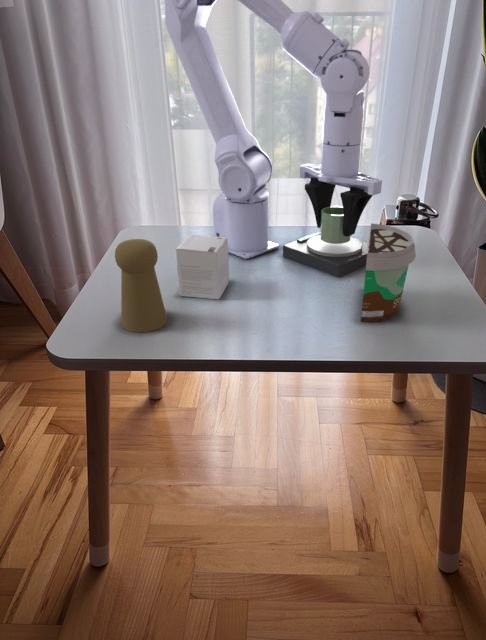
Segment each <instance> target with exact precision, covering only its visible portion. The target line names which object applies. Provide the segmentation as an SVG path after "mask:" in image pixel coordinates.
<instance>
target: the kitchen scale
mask: <svg viewBox="0 0 486 640" xmlns="http://www.w3.org/2000/svg"><path fill="white" fill-rule="evenodd" d="M368 249H369V242H367V241H364V240H361V239H358V238H356V237H354V236H351V239H350V241H349V242H347V243H342V244H331V243H327V242H324V241H322V240H321V239H320V231H319V232H314V233H311V234H308V235H306V236H301V237H299V238H296V240H294V241H291V242H288V243H286V244H283V245H282V257H283V258H286V259H288V260H291V261H294V262H296V263H300V264H302V265H304V266H307V267H310V268H313V269H315V270H318V271H320V272H323V273H326V274H327V275H331V276H333V277H337V278H341V277H343V276H346V275H348V274H350V273H352V272H354V271H356V270H358V269H361V268H363V267H366V262H367V253H368Z"/></svg>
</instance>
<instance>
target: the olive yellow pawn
mask: <svg viewBox="0 0 486 640" xmlns="http://www.w3.org/2000/svg"><path fill="white" fill-rule="evenodd" d="M158 258H159V257H158V250H157V247H156V245H155V244H154V243H153V242H152V241H150V240H148V239H143V238H131V239H127V240H123V241H122V242H120V243H119V244H117V246H116V248H115V250H114V260H115V263H116V265H117V267H118V268H119V269H120V270H121V277H120V279H121V286H120V287H121V288H120V291H121V292H120V293H121V294H120V295H121V296H120V298H121V300H120V301H121V302H120V305H121V307H120V308H121V310H120V314H121V315H120V319H121V320H120V321H121V322H120V324H121V327H122V328H123V329H124V330H126V331H128V332H132V333H149V332H153V331H157V330H159V329H161V328H163V327H164V326H165V325H167V322H168V317H167V312H166V309H165V305H164V300H163V296H162V292H161V288H160V284H159V280H158V276H157V272H156V268H155V266H156V265H157V263H158Z"/></svg>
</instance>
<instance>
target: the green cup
mask: <svg viewBox="0 0 486 640" xmlns="http://www.w3.org/2000/svg"><path fill="white" fill-rule="evenodd" d="M343 218H344V215H343V206H341V205H339V206H338V205H333V206H332V205H331V207H326V208H323V209H322V210H321V226H320V228H319V229H320V230H319V232H320V239H321V240H322V241H324V242H327V243H331V244H342V243H347V242H349V241H350V239H351V237H352V235H350V236H344V235H343Z"/></svg>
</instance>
